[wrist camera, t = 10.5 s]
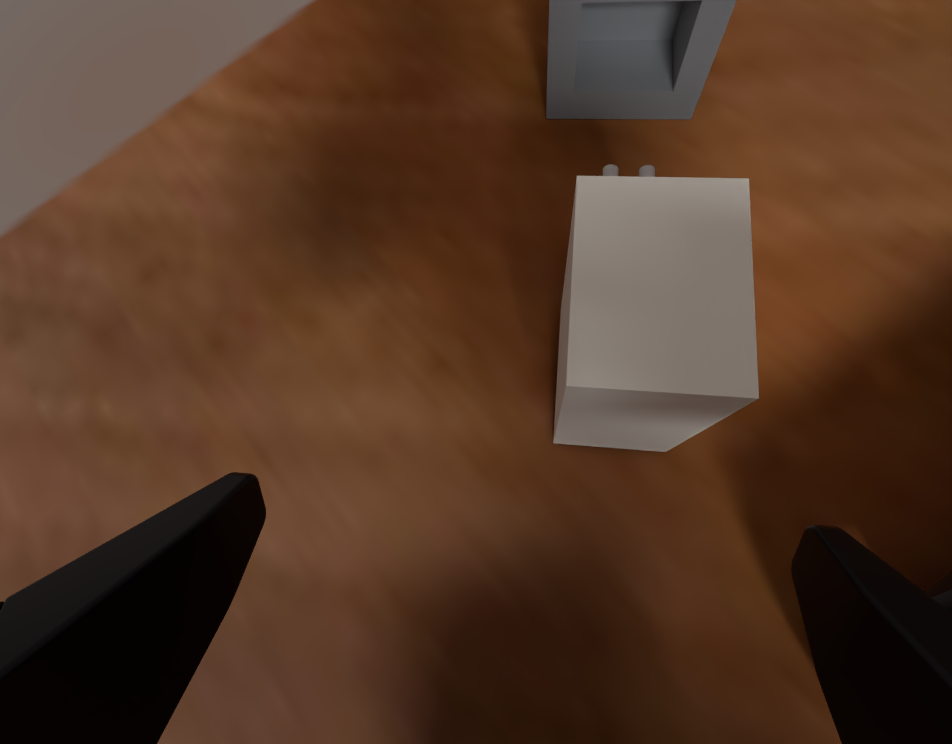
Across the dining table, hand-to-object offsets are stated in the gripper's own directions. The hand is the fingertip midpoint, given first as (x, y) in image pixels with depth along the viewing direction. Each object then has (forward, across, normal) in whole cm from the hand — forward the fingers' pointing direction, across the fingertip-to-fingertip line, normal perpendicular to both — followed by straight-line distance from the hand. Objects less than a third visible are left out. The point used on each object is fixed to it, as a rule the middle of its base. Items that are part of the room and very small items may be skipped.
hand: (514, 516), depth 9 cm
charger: (+15, -3, +3) cm, 16 cm away
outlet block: (+25, -3, -6) cm, 26 cm away
